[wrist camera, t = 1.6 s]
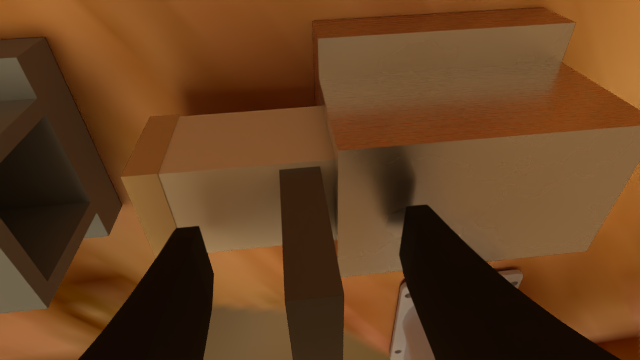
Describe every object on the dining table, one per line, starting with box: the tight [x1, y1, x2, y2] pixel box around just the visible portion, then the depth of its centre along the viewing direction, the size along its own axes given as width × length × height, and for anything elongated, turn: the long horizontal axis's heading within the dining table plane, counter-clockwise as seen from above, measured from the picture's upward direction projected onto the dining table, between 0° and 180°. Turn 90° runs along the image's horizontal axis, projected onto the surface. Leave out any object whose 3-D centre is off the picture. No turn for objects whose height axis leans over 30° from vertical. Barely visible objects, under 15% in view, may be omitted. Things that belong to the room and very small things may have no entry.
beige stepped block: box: [312, 8, 640, 277], centre depth 15 cm, size 9×8×7 cm
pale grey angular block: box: [121, 106, 344, 360], centre depth 12 cm, size 14×4×8 cm, turn 91°
